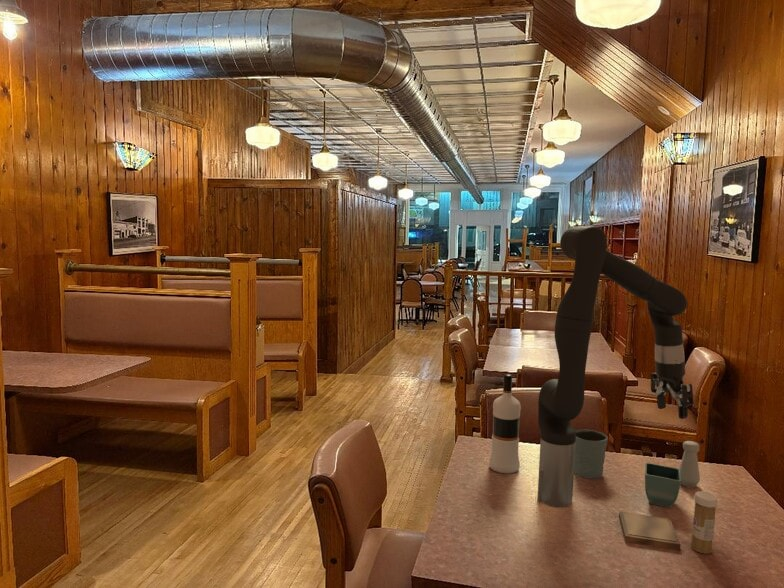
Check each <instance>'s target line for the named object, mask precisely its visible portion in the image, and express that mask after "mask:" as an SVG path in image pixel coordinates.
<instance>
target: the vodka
mask: <svg viewBox="0 0 784 588" xmlns="http://www.w3.org/2000/svg"><path fill="white" fill-rule="evenodd" d="M502 387H503V388H502V395H500V396H499V397H497V398H495V399H494V401H493V403H492V416H493V419H492V435H491V454H490V457H489V461H488V464H489V468H490V469H492V471H494V472H497V473H499V474H505V475H507V474H514V473H516V472H518V471H519V469H520V467H521V466H520V460H519V459H520V457H519V443H520V438H519V437H520V434H519V433H520V419H521V405H522V404H521V403H520V400H518V399H517V398H516V397H514V396H513V395H512V394H513V393H512V388H513V375H512V374H510V373H505V374H504V375H503V386H502Z"/></svg>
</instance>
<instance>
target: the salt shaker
mask: <svg viewBox="0 0 784 588" xmlns="http://www.w3.org/2000/svg"><path fill="white" fill-rule="evenodd" d="M682 448H683V449H682V450H684V452H683V454H682V458H681V462H680V465H679V467H678V469H680V476H681V484H680V486H683V487H685V488H688V489H689V488H690V489H694V488H696V487H697V485H698V484H699V483H700V481H701V475H700V470H699V469H700V468H699V467H700V466H699V461H698V459H699V458H698V453H699V452H700V444H699V443H697V442H696V441H692V440H685V441H683V443H682Z"/></svg>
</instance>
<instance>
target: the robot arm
mask: <svg viewBox="0 0 784 588" xmlns="http://www.w3.org/2000/svg"><path fill="white" fill-rule="evenodd" d="M607 239H608V238H607V235H606V233H605V231H604V230H603V229H602V228H600V227H599V226H593V225H587V226H586V225H584V226H583V225H581V226H580V225H578V226H572V227H570V228H567V229H566V230H565V231H564V232H563V233H562V235H561V237H560V241H559V244H560V249H561V251H562V253H563V254H564V255H565V256H566V257H567V258H569V259H571V260H573V261H574V269H573V275H572V279H571V281H570V285H569V286H568V287H567V290H566V292H565V293H564V295H563V296H562V298H561V301H560V302H559V305H558V307H557V311H556V316H555V325H554V341H555V348H556V351H557V355H558V363H559V364H558V365H559V372H558V378H552V379H548V380H547V381H545V383H543V384H542V386H541V388H540V390H539V394H538V408H537V409H538V410H537V411H538V412H537V413H538V414H537V415H538V416H537V417H538V418H537V420H538V422H537V423H538V428H539V430H540V443H539V444H540V446H539V459H538V460H539V462H538V463H539V464H538V477H537V478H538V482H537V498H536V499H537V500H536V501H537V502H541V503H543V504H545V505H548V506H552V507H559V508H560V507H567V506H570V505H571V504H572V503H573V497H574V496H573V495H574V476H575V473H574V462H575V445H576V432H575V431H576V430H575V428H574V426H573V424H572V423H571V421H573V420H574V419H576V418H577V417H578V416H579V415H580V413H581V412H582V409H583V408H584V404H585V403H584V401H585V390H586V389H585V388H586V387H585V386H586V384H585V383H586V368H587V367H586V366H587V361H588V360H587V359H588V354H589V353H588V352H589V345H590V339H591V333H592V326H593V322H594V321H593V320H594V311H595V305H596V300H597V293H598V287H599V281H600V277H601V274H602V275H603V276H605V277H606V278H608V279H609V280H611V281H612V282H614V283H616V284H617V285H619V286H620V287H621V288H623V289H624V290H626V291H627V292H629V293H631V295H632V296H635V297H636V298H638V299H639V300H643V301H646V305H647V310H648V315H649V317H650V321H651V324H652V326H653V329H654V330H653V331H654V366H655V372H651V373H650V391H651V393H654V395H655V397H656V405H657V408H658V409H659V410H664V409H665V408H666V406H667V404H666V403H667V402H666V401H667V400H666V394H669V395H671V396H672V398H673V399H674V400H675V401H676V403H677V405H678V410H677V411H678V418H679V419H681V420H684V419H686V418H688V415H689V414H688V409H689V408H688V407H689V406H693V405H694V404H695V403H694V392H693V385H692V383H684V379H683V377H685V375H686V364H685V363H686V361H685V347H684V340H683V339H684V338H683V335H684V334H683V327H682V325H681V324H680V323H679V322H678V321H676V320H674V318H673V316H674V317H675V316H676V317H677V316H679V315H682V314H683V313H684V312H685V311H686V309H687V308H688V300H687V297H686V295H685V294H684V292H682V291H680V290H679V289H677V288H676V287H674V286H672V285H670V284H669V283H666V282H664V281H661V280H659V279H657V278H656V277H655V276H654V275H652V274H651V273H650V272H648V271H647V270H645V269H643V268H642V267H641V266H639V265H637V264H636V263H633V262H631V261H629V260H628V259H624V258H622V257H620V256H618V255H616V254H614V253H612V252H611V251H609V250H607V249H608V240H607ZM681 399H682V400H681Z"/></svg>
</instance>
